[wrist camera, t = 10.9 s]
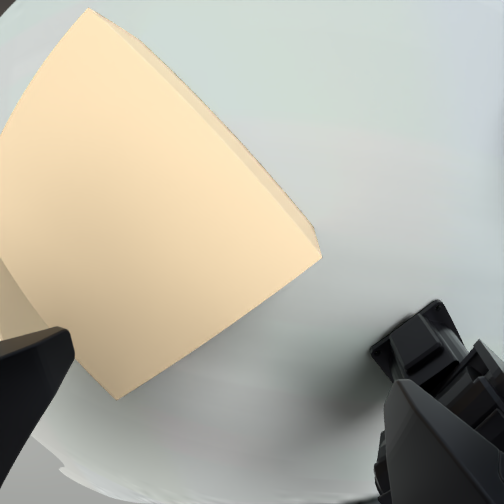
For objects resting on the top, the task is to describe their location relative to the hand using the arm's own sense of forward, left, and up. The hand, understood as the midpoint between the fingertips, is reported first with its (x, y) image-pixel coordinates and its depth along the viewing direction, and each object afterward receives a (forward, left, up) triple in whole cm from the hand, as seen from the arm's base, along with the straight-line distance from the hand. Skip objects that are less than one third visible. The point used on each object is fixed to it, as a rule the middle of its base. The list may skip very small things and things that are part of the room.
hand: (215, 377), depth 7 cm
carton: (+8, +5, -13) cm, 16 cm away
